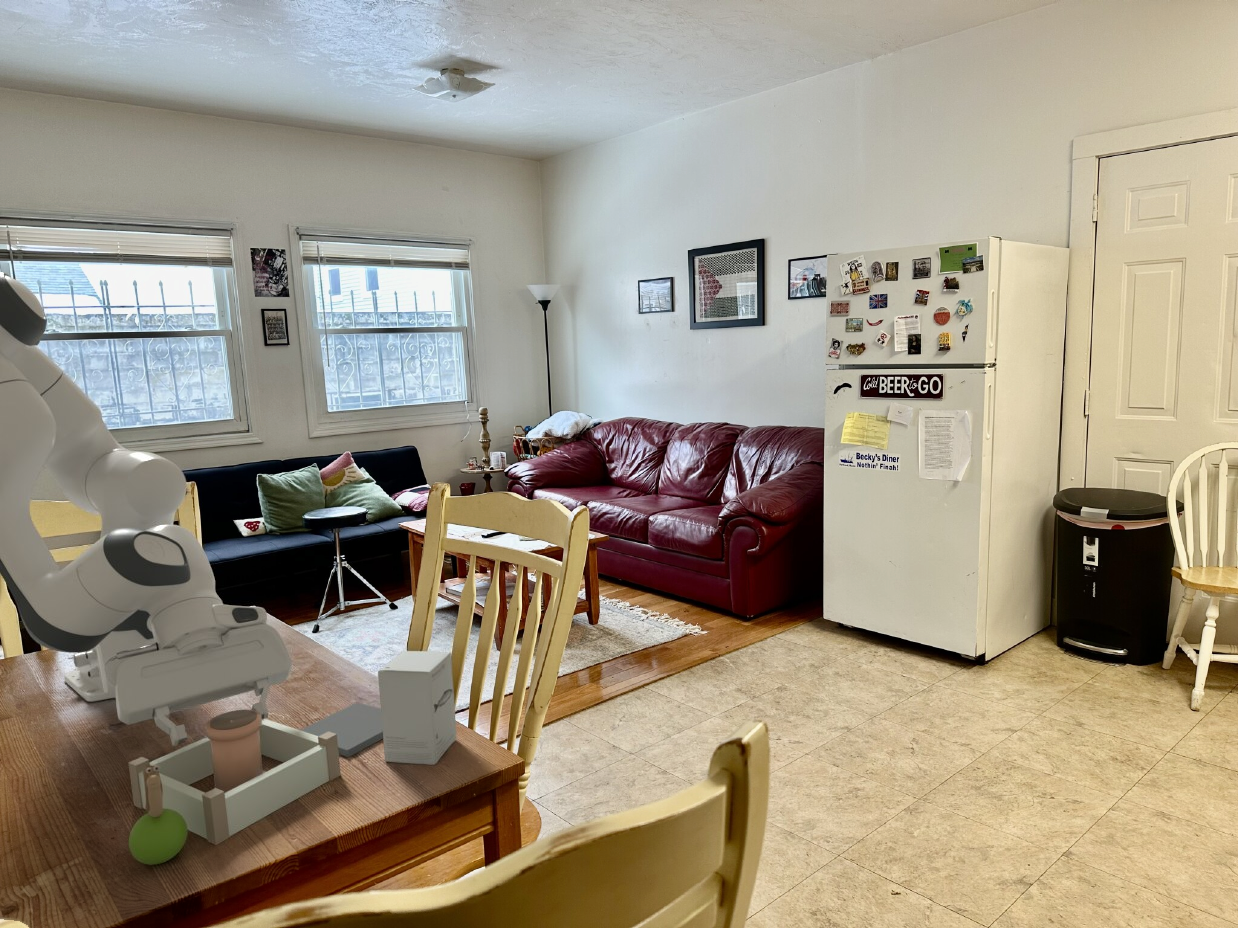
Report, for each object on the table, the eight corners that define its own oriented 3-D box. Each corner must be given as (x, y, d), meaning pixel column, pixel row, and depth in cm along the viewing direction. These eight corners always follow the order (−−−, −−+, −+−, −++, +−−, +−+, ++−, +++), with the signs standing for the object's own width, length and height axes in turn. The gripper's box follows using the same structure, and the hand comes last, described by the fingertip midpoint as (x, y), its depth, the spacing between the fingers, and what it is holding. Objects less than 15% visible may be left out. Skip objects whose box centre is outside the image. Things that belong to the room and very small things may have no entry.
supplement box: (436, 766, 105) (429, 672, 104) (383, 762, 107) (375, 669, 105) (459, 739, 112) (452, 650, 111) (408, 736, 114) (401, 648, 112)
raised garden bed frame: (134, 805, 99) (128, 762, 98) (259, 745, 113) (254, 707, 112) (216, 845, 90) (210, 798, 89) (340, 774, 104) (336, 733, 103)
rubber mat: (295, 739, 114) (294, 732, 114) (357, 708, 124) (357, 702, 123) (348, 757, 109) (347, 750, 108) (409, 723, 118) (409, 716, 118)
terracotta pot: (201, 794, 100) (194, 723, 99) (246, 772, 106) (240, 704, 104) (232, 807, 97) (225, 734, 96) (277, 784, 103) (272, 713, 101)
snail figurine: (136, 887, 83) (121, 776, 82) (129, 857, 88) (115, 752, 87) (195, 865, 86) (182, 759, 85) (185, 838, 92) (172, 736, 90)
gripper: (102, 643, 99) (127, 746, 93) (276, 605, 112) (308, 693, 106) (100, 668, 103) (124, 769, 97) (268, 629, 116) (299, 716, 110)
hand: (222, 729), depth 102 cm, fingers open, 8 cm apart
